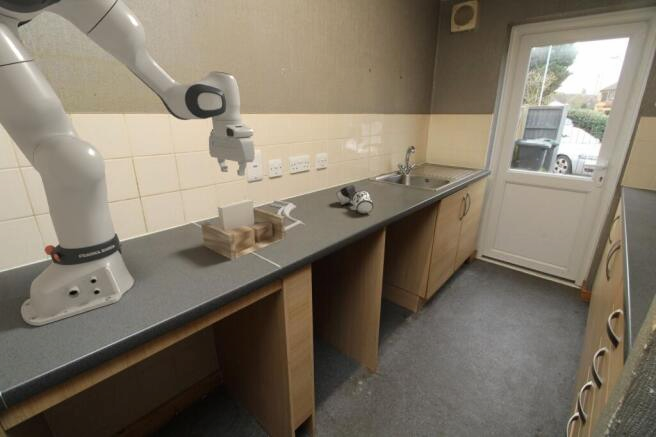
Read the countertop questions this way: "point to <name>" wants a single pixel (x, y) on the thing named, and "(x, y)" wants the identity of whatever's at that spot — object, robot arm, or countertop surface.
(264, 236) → the walnut offcut
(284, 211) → the molding
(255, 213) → the offcut rack
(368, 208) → the patterned dumbbell
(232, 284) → the countertop surface
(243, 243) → the oak offcut
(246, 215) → the white square panel
